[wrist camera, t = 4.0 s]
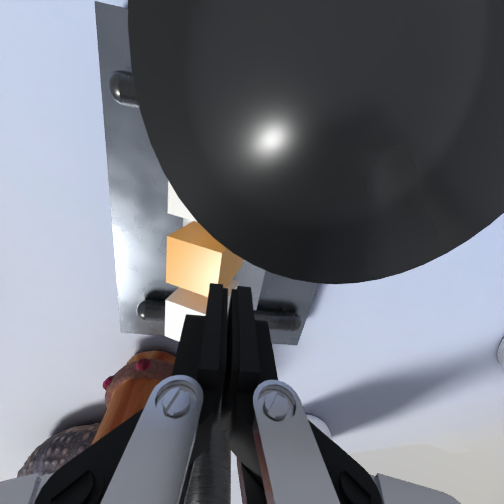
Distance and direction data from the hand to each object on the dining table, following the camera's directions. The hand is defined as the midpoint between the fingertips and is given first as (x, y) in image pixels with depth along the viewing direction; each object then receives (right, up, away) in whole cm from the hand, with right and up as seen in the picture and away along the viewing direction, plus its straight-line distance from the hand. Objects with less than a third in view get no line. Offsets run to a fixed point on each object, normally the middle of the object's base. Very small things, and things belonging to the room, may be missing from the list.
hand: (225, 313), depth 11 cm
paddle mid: (-1, +4, +7) cm, 8 cm away
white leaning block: (-1, 0, +9) cm, 9 cm away
